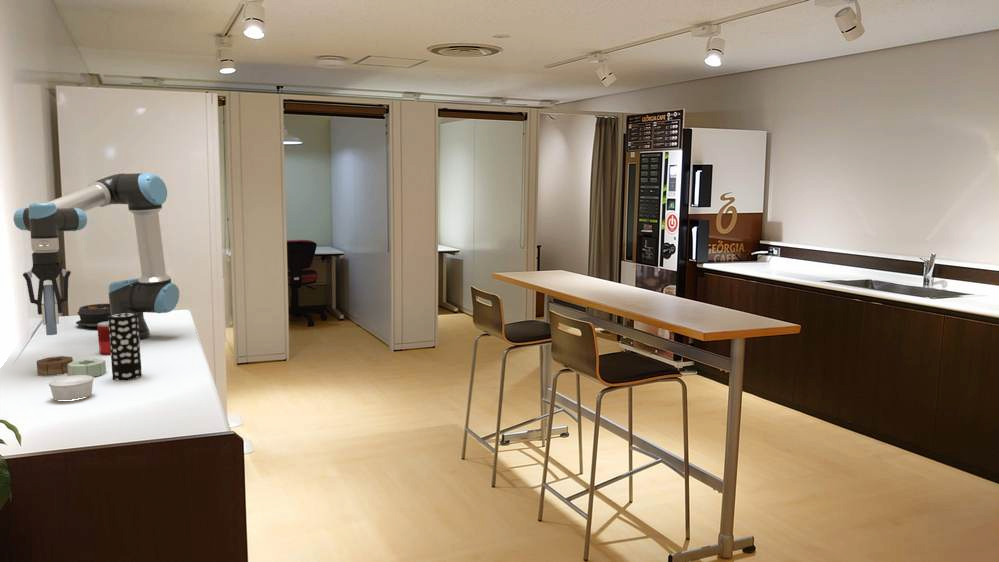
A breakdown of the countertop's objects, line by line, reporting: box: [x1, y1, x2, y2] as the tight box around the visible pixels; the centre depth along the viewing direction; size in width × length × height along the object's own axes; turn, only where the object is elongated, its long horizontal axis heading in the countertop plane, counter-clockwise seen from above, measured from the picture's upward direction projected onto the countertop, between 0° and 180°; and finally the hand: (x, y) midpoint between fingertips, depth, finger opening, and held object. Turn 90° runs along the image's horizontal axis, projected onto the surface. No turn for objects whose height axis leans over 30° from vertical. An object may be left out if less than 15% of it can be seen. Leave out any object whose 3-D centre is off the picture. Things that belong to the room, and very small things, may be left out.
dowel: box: [42, 284, 58, 336], centre depth 241 cm, size 3×3×16 cm
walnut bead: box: [36, 355, 74, 376], centre depth 244 cm, size 10×10×4 cm
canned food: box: [97, 321, 111, 356], centre depth 271 cm, size 8×8×11 cm
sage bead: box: [67, 358, 107, 378], centre depth 240 cm, size 10×10×4 cm
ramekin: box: [48, 375, 95, 401], centre depth 215 cm, size 11×11×5 cm
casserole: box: [75, 303, 111, 328], centre depth 323 cm, size 25×19×8 cm
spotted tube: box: [108, 313, 143, 381], centre depth 236 cm, size 8×8×20 cm
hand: (51, 323), depth 242 cm, fingers closed on dowel, 3 cm apart
